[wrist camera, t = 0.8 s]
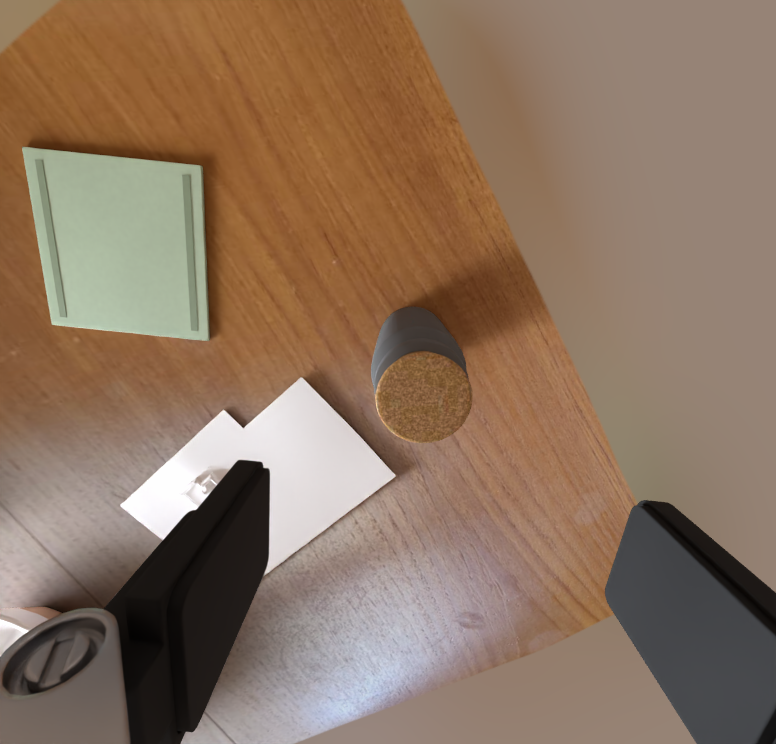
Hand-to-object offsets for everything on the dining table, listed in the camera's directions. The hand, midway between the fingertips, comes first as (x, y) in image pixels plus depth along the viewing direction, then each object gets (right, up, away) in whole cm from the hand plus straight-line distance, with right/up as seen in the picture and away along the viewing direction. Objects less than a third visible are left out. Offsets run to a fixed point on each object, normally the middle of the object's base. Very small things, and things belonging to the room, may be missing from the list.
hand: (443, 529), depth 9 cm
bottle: (+1, +7, +23) cm, 24 cm away
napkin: (-24, +14, +21) cm, 35 cm away
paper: (-15, -8, +27) cm, 32 cm away
